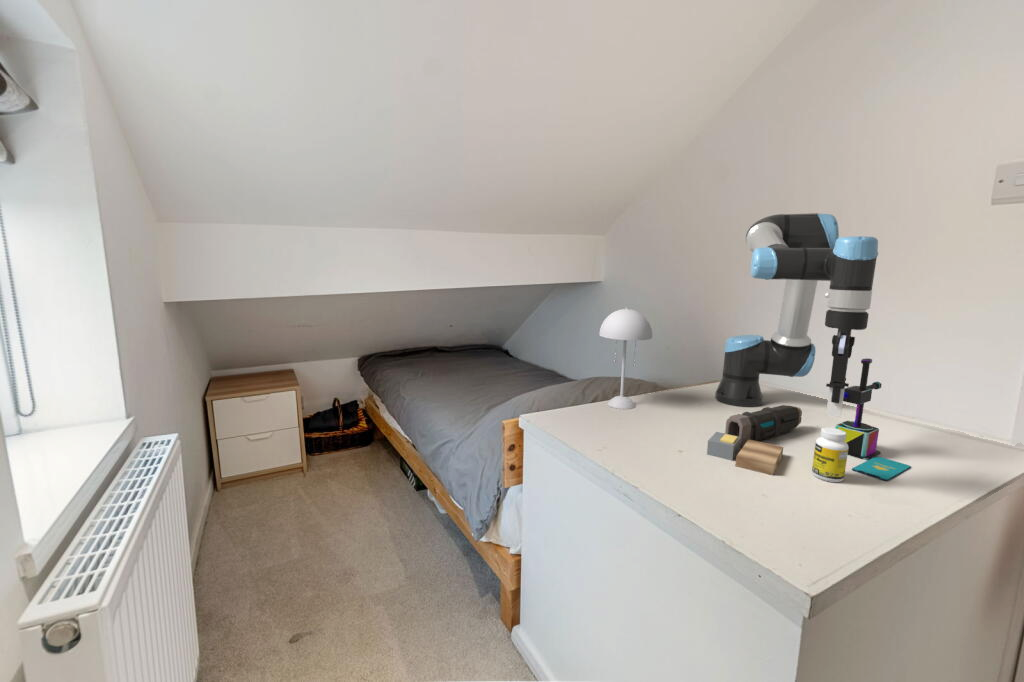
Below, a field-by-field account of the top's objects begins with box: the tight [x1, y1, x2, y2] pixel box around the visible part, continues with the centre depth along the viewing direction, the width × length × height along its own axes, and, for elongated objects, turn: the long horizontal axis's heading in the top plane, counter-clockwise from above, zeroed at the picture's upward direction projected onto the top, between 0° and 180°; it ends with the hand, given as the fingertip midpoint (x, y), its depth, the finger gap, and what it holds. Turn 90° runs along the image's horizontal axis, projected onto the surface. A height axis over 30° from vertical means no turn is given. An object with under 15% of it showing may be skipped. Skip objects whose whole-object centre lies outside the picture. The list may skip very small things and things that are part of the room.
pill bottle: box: [811, 427, 849, 483], centre depth 108 cm, size 6×6×11 cm
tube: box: [724, 404, 803, 448], centre depth 133 cm, size 11×7×30 cm
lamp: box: [598, 307, 653, 410], centre depth 159 cm, size 17×17×33 cm
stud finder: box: [706, 431, 741, 461], centre depth 121 cm, size 8×6×4 cm
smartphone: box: [851, 455, 912, 482], centre depth 114 cm, size 7×1×15 cm
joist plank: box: [735, 439, 784, 476], centre depth 117 cm, size 14×8×2 cm, turn 143°
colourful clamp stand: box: [835, 357, 882, 461], centre depth 125 cm, size 25×9×24 cm, turn 124°
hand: (833, 415), depth 106 cm, fingers closed
